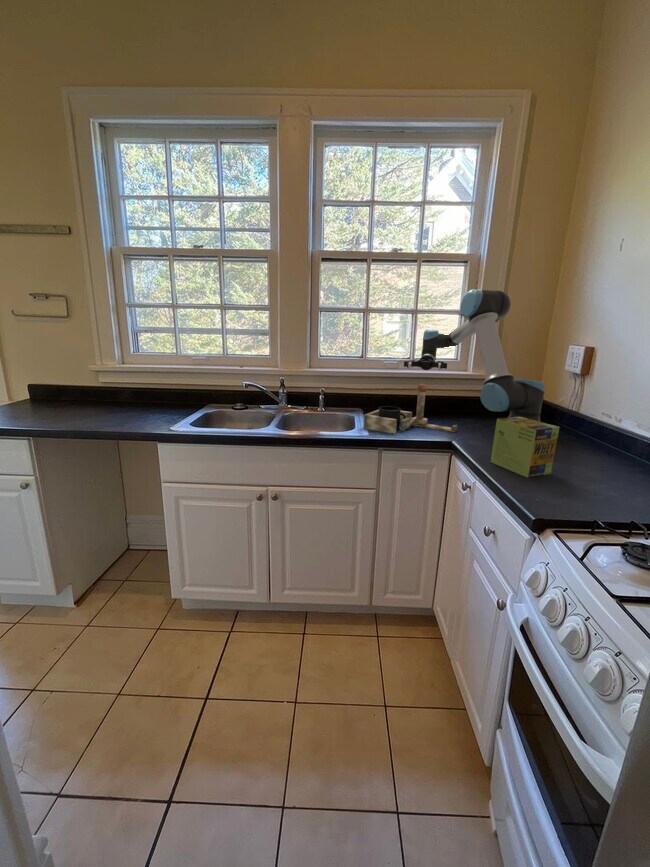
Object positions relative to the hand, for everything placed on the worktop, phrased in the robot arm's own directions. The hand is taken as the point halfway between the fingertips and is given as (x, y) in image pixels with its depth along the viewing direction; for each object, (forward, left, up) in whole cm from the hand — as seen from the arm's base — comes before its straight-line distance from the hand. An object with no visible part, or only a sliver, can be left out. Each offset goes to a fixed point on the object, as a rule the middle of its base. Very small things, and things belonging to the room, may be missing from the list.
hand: (423, 366), depth 182 cm
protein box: (-50, +42, -26) cm, 70 cm away
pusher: (-3, +15, -25) cm, 30 cm away
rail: (-7, +9, -26) cm, 28 cm away
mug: (+5, +22, -26) cm, 34 cm away
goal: (+7, +20, -26) cm, 33 cm away
